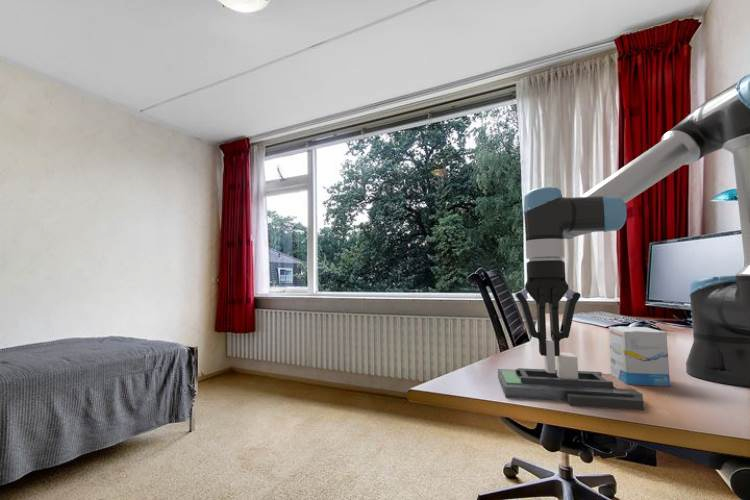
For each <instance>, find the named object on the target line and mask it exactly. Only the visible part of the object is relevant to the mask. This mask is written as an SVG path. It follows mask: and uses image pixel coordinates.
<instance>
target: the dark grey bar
mask: <svg viewBox="0 0 750 500" xmlns="http://www.w3.org/2000/svg"><path fill="white" fill-rule="evenodd" d="M567 400H568V401H567V404H568V405H569V406H570V407H571V406H572V407H573V406H574V407H584V408H585V407H586V408H588V407H589V408H604V409H618V410H620V409H621V410H636V411H645V404H644V403H645V401H644V399H643V400H641V399H640V398H629V397H612V396H595V395H578V394H567Z"/></svg>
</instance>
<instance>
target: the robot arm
mask: <svg viewBox="0 0 750 500" xmlns="http://www.w3.org/2000/svg"><path fill="white" fill-rule="evenodd" d="M722 149H723V150H725V151H727V152H730V153H731V154H732V156H733V158H732V159H733V166H734V175H735V185H736V193H737V195H736V196H737V202H738V203H737V204H738V213H739V222H740V232H741V241H742V250H743V252H742V253H743V261H744V266H743V267H742V268H741V269H740V270H738V271H737V272H736V273H735V275H721V276H708V277H702V278H697V279H695V280H692V281H691V282H690V287H689V298H690V308H691V322H692V323H691V324H692V333H693V334H692V335H693V336H692V338H693V340H692V341H693V342H692V346H691V348H690V351H689V353H688V356H687V359H686V361H685V370H686V371H685V372H686V373H687V374H688V375H690V376H693V377H695V378H698V379H701V380H705V381H709V382H714V383H715V382H716V383H719V384H726V385H734V386H742V387H750V73H749V74H747V75H745V76H743V77H742V78H740V80H738V81H737V82H735V83H733V84H732V85H730V86H729V87H727V88H726V89H724V90H723V91H722V90H721V92H719V93H717V94H716V95H715V96H713V97H711V98H708V100H706V101H703V103H702V104H700V105H699V106H698V107H696V108H695V109H693V111H691V113H689V114H688V115H687V116H686V117H685V118H684V119H682V120H681V121H680V122H679V123H677V124H676V125H675V126H674V127H673V128H671V129H670V130H668V131H667V132H665V133H664V134H663V135H662V136H661V139H660V141H659V142H658V143H656V144H654V146H652V147H650V148H648V150H646V151H644V152H643V153H641V154H640V155H639V156H637V157H636V158H635V159H633V160H631V161H629V162H628V163H627V164H626V165H624V166H622V167H621V168H620V169H619V170H617V171H615V172H614V173H613V174H611V175H609V176H608V177H607V178H605V179H603V181H601V182H599V183H598V184H596V185H595V186H593V187H592V188H590V189H588V190H587V191H586V192H585V193H583V194H582V195H580V196H577V197H567V196H566V197H565V196H564V197H563V194H562V190H561V189H560V188H558V187H552V186H551V187H550V186H547V187H545V186H544V187H538V188H534V189H531V190H528V191H527V192H525V195H524V197H523V198H524V199H523V201H524V202H523V215H524V219H523V220H524V230H525V256H526V257H525V258H526V259H527V260H529V261H527V262H526V283H525V285H524V288H523V289H521V290H520V291H517V292H515V293H514V296H515V298H516V300H517V301H518V302H519V305H520V307H521V311H522V313H523V314H522V315H523V318H524V321H525V325H526V327H527V331H528V334H529V336H531V337H532V338H535V339H537V340H538V353H539V355H540V356H542V357H544V369H545V370H546V371H547V372H548V373H556V370H557V369H556V356H559V355H560V353H561V350H560V341H561V340H563V339H568V338H569V337H570V334H571V333H570V332H571V328H572V325H573V318H574V313H575V310H576V309H575V308H576V305H577V303H578V301H579V300H580V298H581V293H580V292H578V291H577V292H576V291H574V290H573V289H571V288H570V286H569V284H568V283H567V280H566V264H565V263H566V262H565V261H564V260H562V259H564V258H565V245H564V243H565V242H564V240H565V239H566V240H570V239H573V238H575V237H579V236H583V235H586V234H591V233H596V232H597V233H598V232H603V233H607V232H614V231H615V232H616V231H619V230H620V229H622V228H623V226H624V225H625V223H626V221H627V215H628V214H627V205H626V204H627V203H628V202H630V201H631V200H633V199H634V198H636V197H637V196H638V195H640V194H641V193H643V192H645V191H646V190H648V189H649V188H650V187H653V186H654V185H655V184H656V183H658V182H660V181H661V180H662V179H664V178H666V177H667V176H669V175H670V174H673V172H675V171H677V170H678V169H680V168H681V167H682V166H686V165H687V166H689V165H692V164H695V163H696V162H697V161H699V160H700V159H702V158H703V157H705V156H708V155H709V154H712V153H715V152H717V151H719V150H722ZM528 294H529V296H530V297H531V298H532V299H533V301H535V307H536V323H537V325H535V322H534V320H533V315H532V312H531V310H530V306H529V302H528V298H529V296H528ZM564 296H565V299H566V301H565V306H564V311H563V315H562V320H561V324H560V318H559V317H560V316H559V315H560V314H559V307H560V304H559V302H561V300H562V298H563V297H564ZM546 304H548V307H549V308H548V309H549V310H548V311H549V326H550V327H549V328H550V330H549V331H550V338H551V339H550V338H547V321H546V319H547V318H546V308H547V307H546V306H547V305H546ZM536 326H537V329H536Z"/></svg>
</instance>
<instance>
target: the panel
mask: <svg viewBox="0 0 750 500" xmlns="http://www.w3.org/2000/svg"><path fill="white" fill-rule="evenodd" d="M524 369H525V368H524ZM524 369H518V368H516V369H508V368H507V369H506V368H497V379H498V381H499V382H498V383H499V384H500V387H501V389H502V392H503V395H504V397H505V398H514V399H515V398H517V399H531V400H532V399H533V400H547V401H563V402H568V400H567V394H578V395H595V396H612V397H629V398H640V399H641V400H643V401H644V395H643V393H642V392H639V390H637V389H635V388H633V387H632V386H631V385H630V384H626V383H625V382H623V381H621V380H619V379H618V378H616V377H615V376H613V375H612V374H611V373H603V374H600V373H590V372H578V379H563V378H559V377H558V376H557V371H556V373H548V372H547V371H546V370H524Z"/></svg>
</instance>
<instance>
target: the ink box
mask: <svg viewBox="0 0 750 500" xmlns="http://www.w3.org/2000/svg"><path fill="white" fill-rule="evenodd" d="M608 337H609V358H610V359H609V360H610V374H612V375H613V376H615V377H616V378H618V379H619V380H621V381H623V382H624V383H626V384H627V385H635V386H654V387H656V386H657V387H658V386H659V387H661V386H662V387H671V381H670V365H669V363H670V362H669V350H668V349H669V348H668V335H667V332H665V331H663V330H659V329H654V328H650V327H647V326H626V325H625V326H623V325H622V326H621V325H619V326H608Z"/></svg>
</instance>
